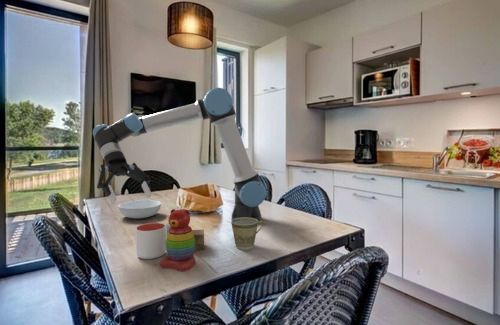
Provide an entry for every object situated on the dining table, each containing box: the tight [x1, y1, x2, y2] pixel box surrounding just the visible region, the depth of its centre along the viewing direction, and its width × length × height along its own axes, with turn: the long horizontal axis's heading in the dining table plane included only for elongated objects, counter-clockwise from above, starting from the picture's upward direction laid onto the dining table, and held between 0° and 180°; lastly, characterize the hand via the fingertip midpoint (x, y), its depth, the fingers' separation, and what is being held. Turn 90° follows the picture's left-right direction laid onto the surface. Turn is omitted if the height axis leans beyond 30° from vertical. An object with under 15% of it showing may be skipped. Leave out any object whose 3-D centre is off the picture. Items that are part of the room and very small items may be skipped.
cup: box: [135, 222, 167, 260], centre depth 103 cm, size 10×10×10 cm
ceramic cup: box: [231, 217, 265, 251], centre depth 110 cm, size 13×10×10 cm
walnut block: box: [192, 229, 205, 252], centre depth 109 cm, size 6×6×6 cm
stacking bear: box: [159, 208, 196, 272], centre depth 95 cm, size 11×10×18 cm
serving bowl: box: [118, 199, 162, 220], centre depth 154 cm, size 21×21×7 cm
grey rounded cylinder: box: [165, 222, 171, 239], centre depth 116 cm, size 6×6×7 cm
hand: (133, 198), depth 108 cm, fingers open, 13 cm apart
